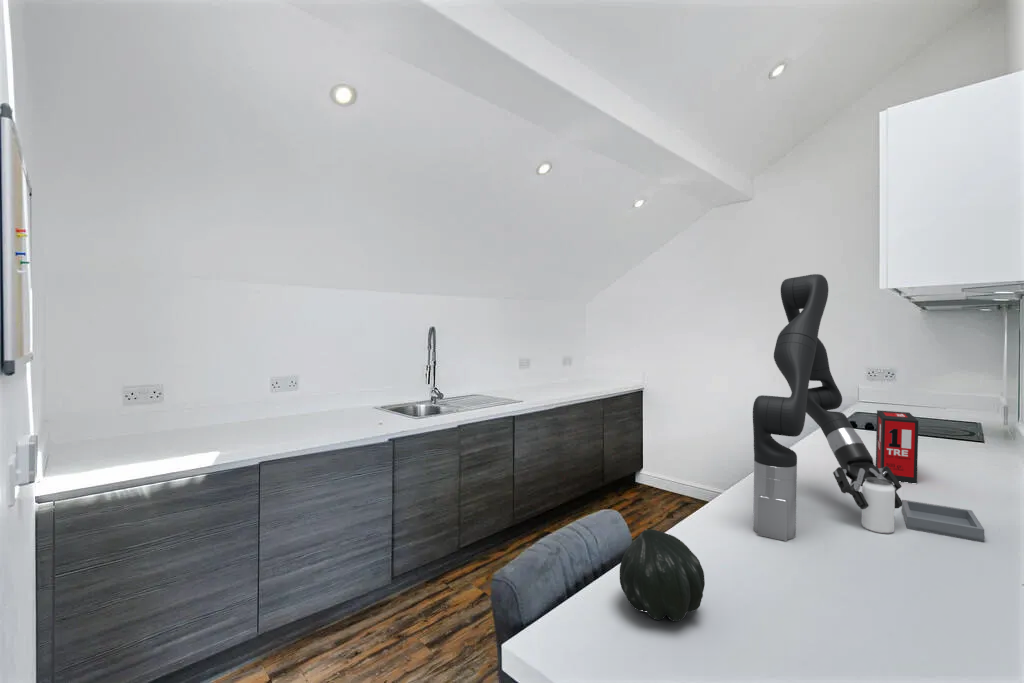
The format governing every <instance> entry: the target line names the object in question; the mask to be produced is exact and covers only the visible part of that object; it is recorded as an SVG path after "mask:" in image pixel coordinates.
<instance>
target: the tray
mask: <svg viewBox="0 0 1024 683" xmlns="http://www.w3.org/2000/svg"><path fill="white" fill-rule="evenodd" d="M901 501H902V506H901V513H902V517H903V520H904V523H905V526H906V529H907V530H913V531H919V532H924V533H929V534H930V533H931V534H936V535H941V536H946V537H951V538H958V539H963V540H968V541H974V542H981V543H985V528H984V527H983V525H982V524H981V522H980V521H979V519H978V517H977V516H976V514H975V513H974V511H973V510H971V509H966V508H960V507H953V506H946V505H940V504H939V505H938V504H932V503H927V502H921V501H913V500H906V499H901Z"/></svg>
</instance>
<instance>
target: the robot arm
mask: <svg viewBox="0 0 1024 683" xmlns="http://www.w3.org/2000/svg"><path fill="white" fill-rule="evenodd" d="M828 297H829V283H828V280H827V278H826V277H825V276H824V275H823V274H820V273H817V274H816V273H813V274H808V275H801V276H794V277H788V278H785V279H783V281H782V282H781V285H780V299H781V302H782V306H783V310H784V312H785V316H786V319H787V322H788V324H787V325H785V327H783V329H781V331H780V332H779V333H778V336H777V339H776V341H775V342H776V343H775V346H774V349H773V350H774V352H773V360H774V363H775V365H776V367H777V368H778V370H779V372H780V373H781V374H782V376H783V378H785V380H786V382H787V384H788V386H789V389H790V392H791V394H790V396H789V397H788V396H778V395H776V396H775V395H765V394H763V395H758V396H757V397H756V398H755V399H754V402H753V405H752V426H753V427H752V428H753V429H752V430H753V515H752V517H753V518H752V519H753V520H752V521H753V522H752V524H753V526H752V527H753V530H754V531H755V532H756V533H757V536H761V537H765V538H771V539H775V540H779V541H785V542H787V541H788V540H791V539H794V538H795V537H796V536H797V483H798V481H797V476H798V475H797V474H798V456H797V453H796V452H795V451H794V450H793V449H791V448H789V447H787V446H785V445H783V444H781V443H779V442H778V441H776V439H774V438H773V437H772V435H773V436H784V437H785V436H786V437H793V438H794V437H795V438H796V437H799V436H800V435H801V434H802V432H803V431H804V427H805V422H806V414H807V415H808V416H809V417H810V418H811V419H813V421H814V422H815V423H816V424H817V425H818V427H820V429H821V431H822V432H823V436H824V437H825V438H826V440H827V442H828V445H829V448H830V450H831V452H832V453H833V455H834V457H835V459H836V460H837V462H838V465H839V466H838V467H837V468H836V469H834V470H833V472H832V474H833V477H834V478H835V481H836V483H837V485H838V487H839V489H840V491H841V493H843V494H846V493H847V494H849V495H851V496H852V498H853V500H854V501H855V504H856V506H858V507H859V508H860V509H861V510H862V509H866V508H867V507H868V503H867V501H866V500H865V498H864V496H863V494H862V491H860V489H861V487H862V486H863V483H864V481H865V478H868V477H874V478H882V479H886V480H889V481H891V482H893V484H892V485H893V487H894V489H895V509H899V508H902V499H901V498H900V496H899V495H898V492H897V491H898V490H899V489H901V488H902V484H901V482H899V481H898V480H897V479H896V477H895V476H894V474H893V473H892V471H891V470H890V468H889V467H887V466H885V467H884V468H877V467H876V464H874V459H873V456H872V455H871V453H870V452H869V450H868V448H867V447H866V445H865V444H864V442H863V440H862V438H861V437H860V435H859V434H858V433H857V432H856V430H855V429H854V427H853V425H852V424H851V422H850V420H849V419H848V417H847V416H846V414H844V413H843V412H841V411H832V410H836V409H839V408H840V407H841V406H842V403H843V396H842V393H841V391H840V389H839V387H838V386H837V384H836V382H835V380H834V377H833V376H832V372H831V368H830V364H829V358H828V352H827V349H826V346H825V345H824V343H823V342H822V341H821V339H820V338H819V330H820V326H821V321H822V318H823V315H824V312H825V309H826V305H827V302H828ZM800 310H801V311H800ZM814 381H815V382H820V383H821V386H816V387H810V388H809V386H810V385H809V384H810V382H814ZM848 478H849V479H850V482H849V479H848Z"/></svg>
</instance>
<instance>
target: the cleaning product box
mask: <svg viewBox="0 0 1024 683" xmlns="http://www.w3.org/2000/svg"><path fill="white" fill-rule="evenodd" d="M875 434H876V435H875V436H876V439H875V440H876V441H875V466H876V467H877V468H884V467H885V466H887V467H889V468H890V470H891V471H892V473H893V474H894V476H895V477H896V479H897V480H898V481H901V482H900V483H904V482H908V483H907V484H912V483H917V484H918V453H919V452H918V451H919V449H918V447H919V420H918V419H917V418H916V417H915V416H913V414H912V413H911V412H907V411H906V412H905V411H894V410H891V411H890V410H878V409H877V410H876V433H875Z"/></svg>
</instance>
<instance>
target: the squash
mask: <svg viewBox="0 0 1024 683" xmlns="http://www.w3.org/2000/svg"><path fill="white" fill-rule="evenodd" d="M705 580H706V579H705V572H704V568H703V566H702V565H701V562H700V560H699V558H698V557H697V556H696V554H695V553H694V552H692V550H691V549H690V548H689V547H688V546H687V545H686V544H685V543H684V541H682V540H680V539H679V538H678V537H676V536H674V535H672V534H669V533H667V532H664V531H660V530H657V529H647V528H645V529H643V531H641V532H640V533H639V534H638V536H637V538H636V539H634V541H633V542H632V543H631V544H630V545H629V546H628V548H627V549H626V550H625V552H624V554H623V556H622V558H621V562H620V566H619V583H620V586H621V590H622V592H623V594H624V595H625V597H626V600H627V601H628V603H629V604H630V606H631V607H633V609H635V608H636V609H635V610H637V609H638V610H637V611H639V610H643V611H647V612H646V614H648V615H649V617H651V618H652V617H653V618H652V619H654V618H655V619H661V620H663V619H664V618H665V617H666V616H667V618H668V619H669V618H670V619H669V620H671V621H672V620H674V621H673V622H680V621H682V620H684V618H685V617H686V614H687V613H691V612H695V611H697V610H698V609H699V607H700V606H701V602H702V599H703V598H704V594H703V593H704V590H705ZM663 617H664V618H663ZM655 619H654V620H655Z"/></svg>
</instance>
